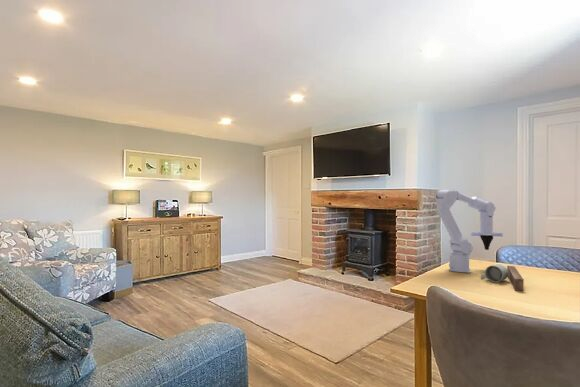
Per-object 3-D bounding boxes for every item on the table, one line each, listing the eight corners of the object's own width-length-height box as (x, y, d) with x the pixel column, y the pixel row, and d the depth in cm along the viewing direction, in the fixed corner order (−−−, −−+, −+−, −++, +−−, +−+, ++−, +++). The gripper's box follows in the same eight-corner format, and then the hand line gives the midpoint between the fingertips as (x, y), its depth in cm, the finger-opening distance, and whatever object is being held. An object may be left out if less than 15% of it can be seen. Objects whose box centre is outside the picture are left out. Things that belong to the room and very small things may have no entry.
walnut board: (514, 290, 137) (514, 278, 137) (507, 275, 160) (507, 265, 160) (523, 291, 135) (523, 279, 135) (514, 276, 158) (514, 266, 158)
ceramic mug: (510, 280, 151) (509, 264, 151) (503, 284, 146) (502, 267, 146) (485, 276, 159) (484, 261, 159) (477, 279, 154) (477, 263, 154)
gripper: (472, 224, 172) (473, 250, 172) (504, 225, 168) (504, 251, 168) (470, 223, 179) (470, 247, 179) (500, 223, 174) (500, 249, 174)
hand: (486, 249), depth 174 cm, fingers closed
